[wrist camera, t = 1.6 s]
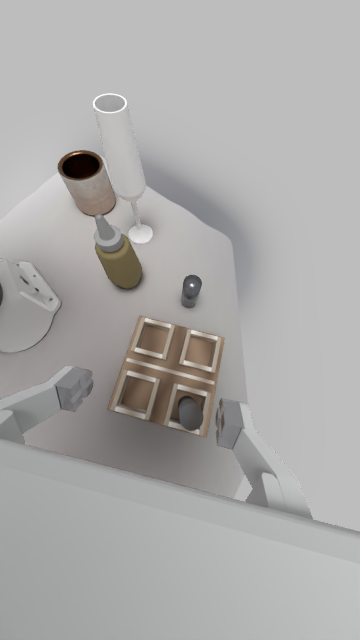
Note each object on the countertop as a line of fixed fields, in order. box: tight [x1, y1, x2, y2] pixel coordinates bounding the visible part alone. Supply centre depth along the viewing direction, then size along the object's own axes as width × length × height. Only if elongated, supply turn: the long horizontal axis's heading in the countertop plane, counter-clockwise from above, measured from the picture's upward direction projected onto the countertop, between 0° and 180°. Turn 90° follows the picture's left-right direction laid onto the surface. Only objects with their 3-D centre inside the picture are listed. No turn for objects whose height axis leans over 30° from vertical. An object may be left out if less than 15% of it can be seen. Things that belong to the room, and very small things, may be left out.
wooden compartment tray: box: [107, 316, 225, 438], centre depth 32 cm, size 20×20×10 cm
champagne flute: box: [93, 94, 153, 244], centre depth 36 cm, size 7×7×24 cm
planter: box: [58, 150, 116, 215], centre depth 45 cm, size 11×11×10 cm
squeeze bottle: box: [94, 214, 142, 288], centre depth 34 cm, size 8×8×18 cm
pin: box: [181, 275, 202, 308], centre depth 38 cm, size 4×4×9 cm
